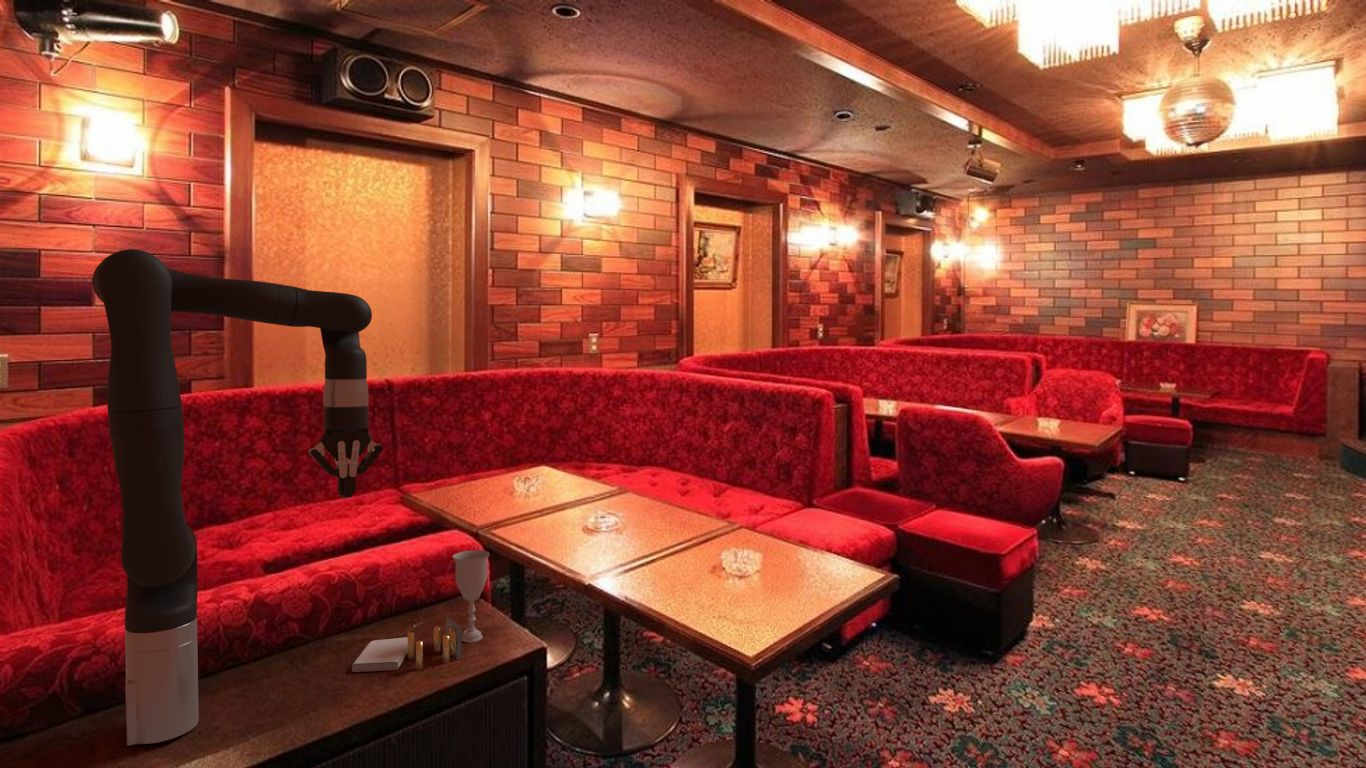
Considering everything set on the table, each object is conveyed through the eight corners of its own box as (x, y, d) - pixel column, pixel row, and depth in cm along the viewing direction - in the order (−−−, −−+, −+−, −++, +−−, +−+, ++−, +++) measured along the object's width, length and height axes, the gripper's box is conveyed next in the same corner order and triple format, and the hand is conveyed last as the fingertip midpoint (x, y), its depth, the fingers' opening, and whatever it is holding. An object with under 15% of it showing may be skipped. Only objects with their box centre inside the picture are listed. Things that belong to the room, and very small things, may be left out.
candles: (417, 670, 132) (417, 637, 132) (406, 658, 137) (406, 626, 137) (462, 658, 138) (462, 627, 137) (451, 648, 143) (451, 617, 142)
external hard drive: (398, 661, 132) (414, 636, 145) (351, 663, 131) (371, 638, 144) (398, 669, 132) (414, 644, 145) (351, 672, 131) (371, 646, 144)
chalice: (480, 633, 151) (480, 548, 150) (496, 642, 146) (496, 555, 145) (447, 642, 146) (446, 554, 145) (462, 652, 141) (461, 561, 140)
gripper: (310, 406, 125) (310, 504, 126) (389, 403, 133) (389, 496, 134) (302, 403, 131) (303, 497, 132) (378, 401, 139) (379, 490, 140)
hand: (346, 496), depth 133 cm, fingers closed
